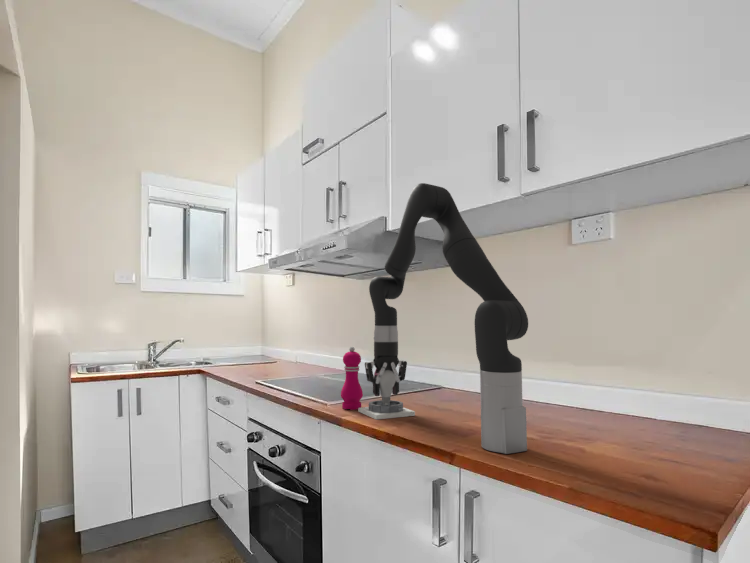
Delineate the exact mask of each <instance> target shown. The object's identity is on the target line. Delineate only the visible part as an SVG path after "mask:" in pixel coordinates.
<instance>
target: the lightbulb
mask: <svg viewBox="0 0 750 563" xmlns="http://www.w3.org/2000/svg"><path fill="white" fill-rule="evenodd" d="M395 382H396V376H395V375H394V373H393V372H392V371H390V370H386V371H384V373H383V375H382V377H380V381H379V383H378V384H380V397H381V400H382V403H383V404H384V405H388V404H389V403H390V400H391V397H392V388H393V386H394V384H395Z"/></svg>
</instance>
